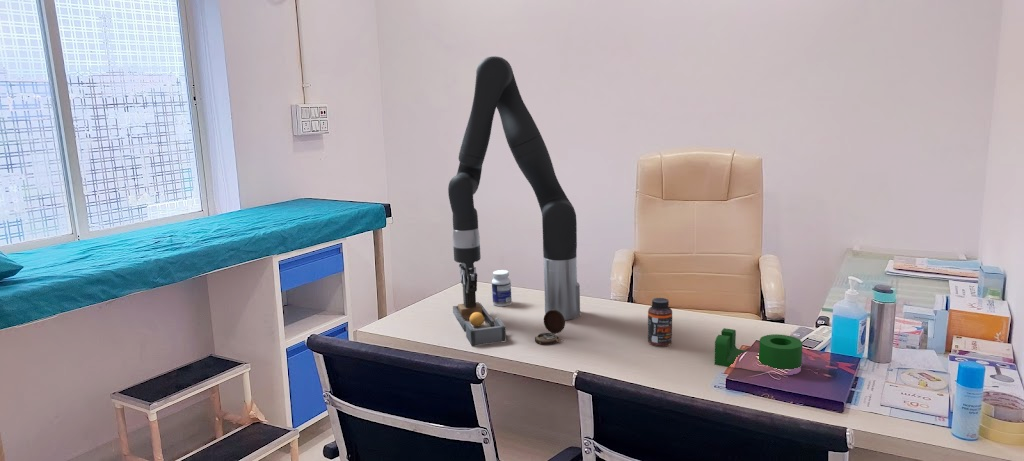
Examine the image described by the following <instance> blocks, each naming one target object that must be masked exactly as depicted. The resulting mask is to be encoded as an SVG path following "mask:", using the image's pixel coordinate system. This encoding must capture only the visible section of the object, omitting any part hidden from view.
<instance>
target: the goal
mask: <svg viewBox="0 0 1024 461" xmlns="http://www.w3.org/2000/svg"><path fill="white" fill-rule="evenodd" d="M465 323H466V332H465V337H466V339H467V340H468V342H469V343H470V344H469V345H471V347H474V346H481V345H489V344H496V343H503V342H507V335H506V326H505V324H504V323H503V322H502V321H501V319H500V318H494V327H490V326H489V327H480V328H474V326H473V325H472V324H471V323H470V321H465Z"/></svg>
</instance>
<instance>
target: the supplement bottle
mask: <svg viewBox="0 0 1024 461" xmlns="http://www.w3.org/2000/svg"><path fill="white" fill-rule="evenodd" d="M669 303H670V302H669V299H667V298H665V297H655V298H652V300H651V306H650V307H649V308H648V311H647V343H649V345H652V346H653V347H667V346H670V345H671V344H672V341H673V310H672V308H671V307H669V305H670V304H669Z"/></svg>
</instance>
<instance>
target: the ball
mask: <svg viewBox="0 0 1024 461" xmlns="http://www.w3.org/2000/svg"><path fill="white" fill-rule="evenodd" d="M469 322H470V324H471V326H472V327H477V328H478V327H481V326H482V325H483V324H484V322H485V319H484V316H483V315H482V314H481V313H479V312H474V313H473V314H471V316H470V319H469Z"/></svg>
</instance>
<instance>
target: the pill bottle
mask: <svg viewBox="0 0 1024 461" xmlns="http://www.w3.org/2000/svg"><path fill="white" fill-rule="evenodd" d="M509 276H510V274H509V270H506V269H499V270H494V271H493V272H492V277H493V278H492V280H491V290H492V293H491V294H492V304H493V305H494V306H497V307H507V306H509V305H511V304H512V302H513V301H512V284H511V283H512V282H511V279H510V278H509Z"/></svg>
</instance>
